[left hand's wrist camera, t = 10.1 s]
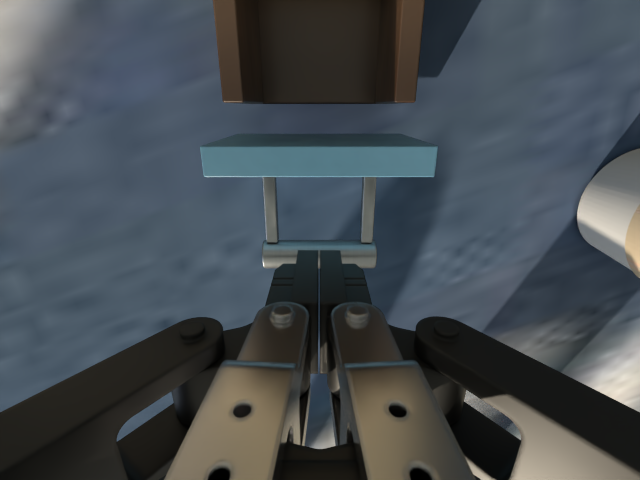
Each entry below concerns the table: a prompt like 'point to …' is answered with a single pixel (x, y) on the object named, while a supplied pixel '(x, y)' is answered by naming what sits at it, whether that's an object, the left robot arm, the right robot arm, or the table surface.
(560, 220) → the table surface
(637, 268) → the coffee cup
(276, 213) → the drawer
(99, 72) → the table surface
